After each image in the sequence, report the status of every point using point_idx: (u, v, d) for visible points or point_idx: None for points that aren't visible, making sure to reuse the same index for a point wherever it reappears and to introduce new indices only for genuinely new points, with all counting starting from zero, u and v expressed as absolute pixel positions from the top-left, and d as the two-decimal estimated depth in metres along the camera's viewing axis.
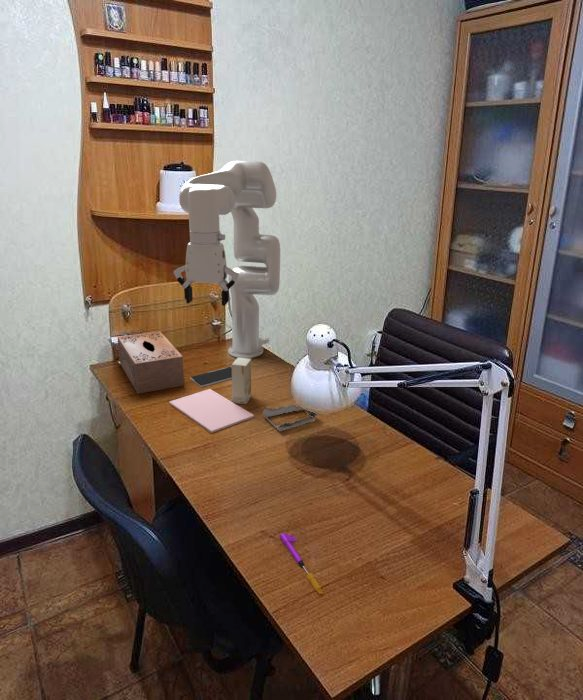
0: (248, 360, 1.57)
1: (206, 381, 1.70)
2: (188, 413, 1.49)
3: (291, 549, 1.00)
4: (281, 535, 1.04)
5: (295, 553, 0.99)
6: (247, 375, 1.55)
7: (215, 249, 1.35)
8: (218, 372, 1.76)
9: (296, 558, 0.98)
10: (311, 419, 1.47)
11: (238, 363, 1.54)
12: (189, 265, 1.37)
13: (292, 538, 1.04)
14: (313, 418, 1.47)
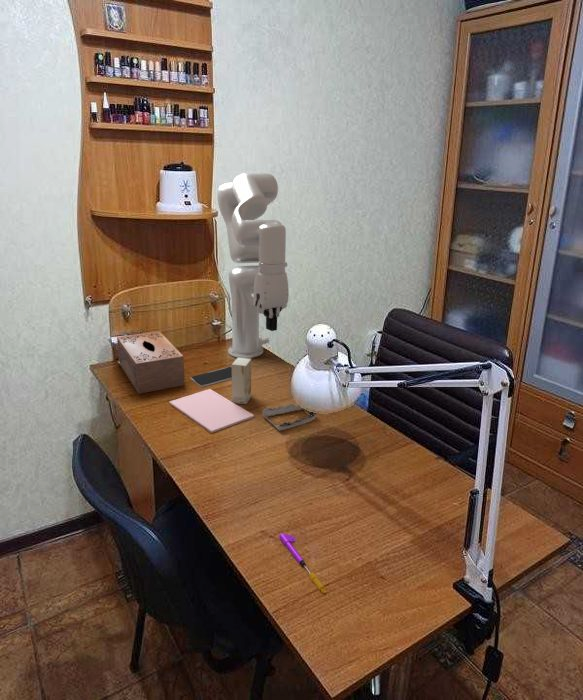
0: (248, 360, 1.57)
1: (206, 381, 1.70)
2: (188, 413, 1.49)
3: (291, 549, 1.00)
4: (280, 536, 1.04)
5: (296, 553, 0.99)
6: (247, 375, 1.55)
7: (285, 276, 1.54)
8: (218, 372, 1.76)
9: (297, 558, 0.98)
10: (311, 418, 1.48)
11: (238, 363, 1.54)
12: (266, 294, 1.51)
13: (292, 538, 1.04)
14: (313, 417, 1.48)
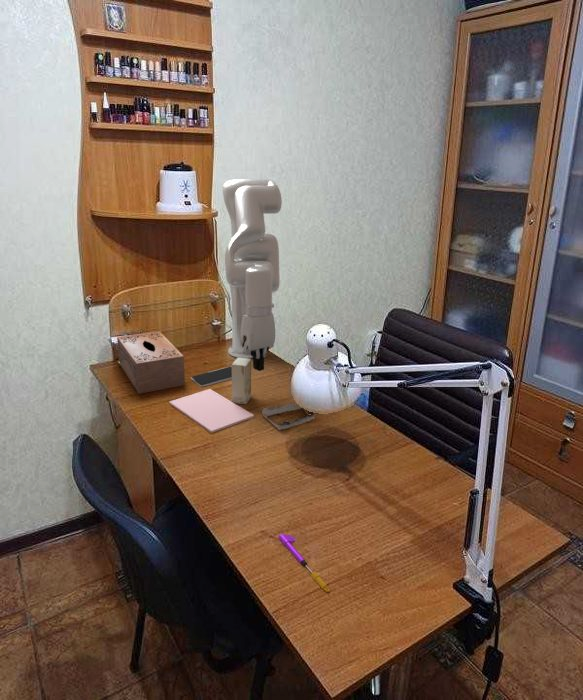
0: (248, 360, 1.57)
1: (206, 381, 1.70)
2: (188, 413, 1.49)
3: (292, 549, 1.00)
4: (280, 536, 1.04)
5: (297, 553, 0.99)
6: (247, 375, 1.55)
7: (272, 317, 1.56)
8: (218, 372, 1.76)
9: (298, 558, 0.98)
10: (310, 417, 1.48)
11: (238, 363, 1.54)
12: (253, 336, 1.53)
13: (291, 538, 1.04)
14: (312, 416, 1.48)
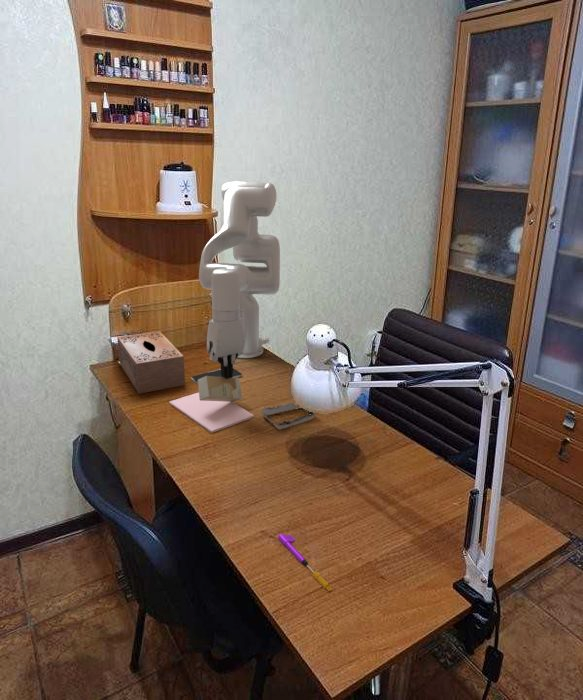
0: (206, 381, 1.47)
1: None
2: (188, 413, 1.49)
3: (292, 549, 1.00)
4: (279, 537, 1.03)
5: (297, 553, 0.99)
6: (218, 391, 1.49)
7: (241, 322, 1.48)
8: (218, 372, 1.76)
9: (299, 558, 0.98)
10: (310, 417, 1.48)
11: (202, 395, 1.48)
12: (220, 342, 1.45)
13: (291, 538, 1.04)
14: (312, 416, 1.49)
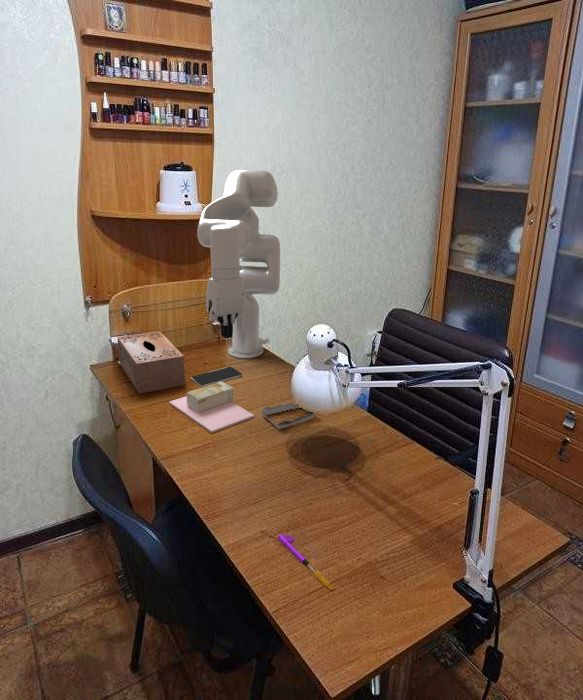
0: (189, 395, 1.51)
1: (207, 381, 1.70)
2: (188, 413, 1.49)
3: (292, 549, 1.00)
4: (279, 537, 1.03)
5: (298, 553, 0.99)
6: (205, 393, 1.52)
7: (240, 281, 1.44)
8: (218, 372, 1.76)
9: (299, 558, 0.99)
10: (309, 416, 1.49)
11: (196, 406, 1.50)
12: (219, 301, 1.42)
13: (290, 538, 1.04)
14: (311, 415, 1.49)
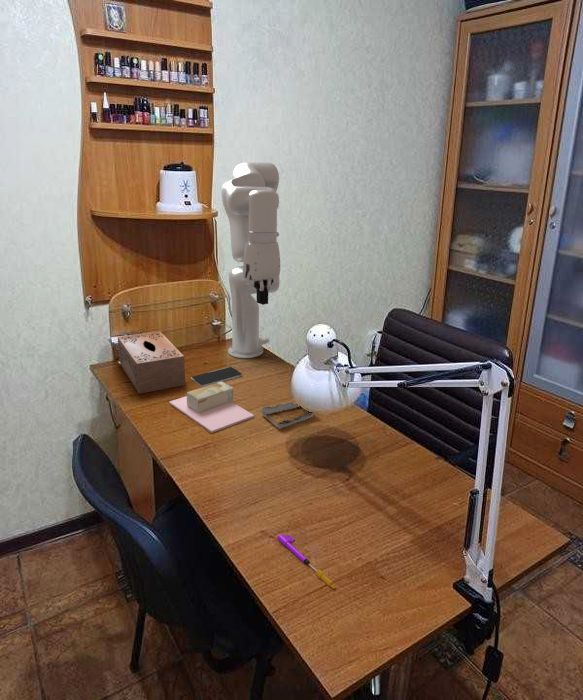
0: (189, 395, 1.51)
1: (207, 381, 1.70)
2: (188, 413, 1.49)
3: (293, 549, 1.00)
4: (279, 537, 1.03)
5: (299, 553, 0.99)
6: (205, 393, 1.52)
7: (277, 246, 1.47)
8: (219, 372, 1.76)
9: (300, 557, 0.99)
10: (309, 416, 1.49)
11: (196, 406, 1.50)
12: (257, 265, 1.44)
13: (290, 538, 1.04)
14: (311, 415, 1.49)
